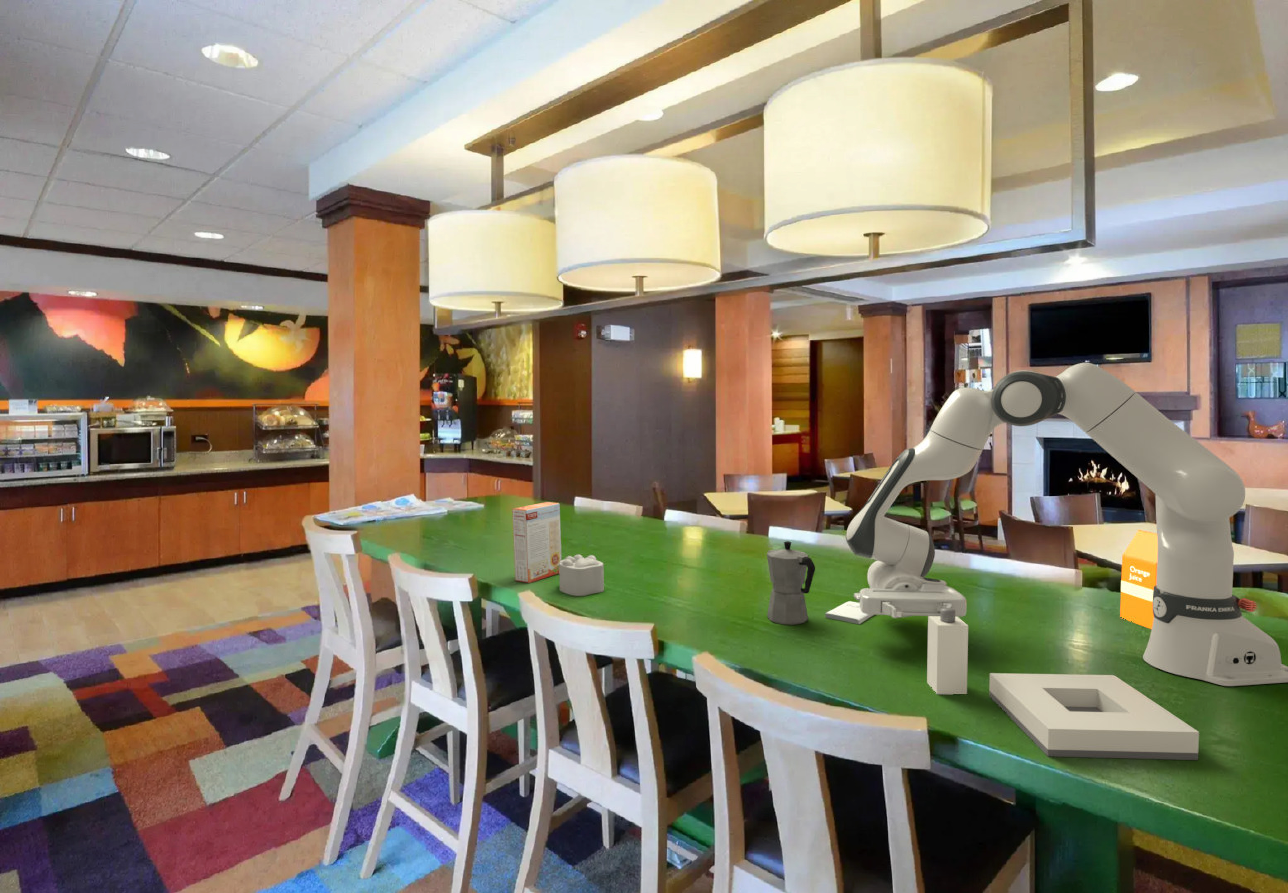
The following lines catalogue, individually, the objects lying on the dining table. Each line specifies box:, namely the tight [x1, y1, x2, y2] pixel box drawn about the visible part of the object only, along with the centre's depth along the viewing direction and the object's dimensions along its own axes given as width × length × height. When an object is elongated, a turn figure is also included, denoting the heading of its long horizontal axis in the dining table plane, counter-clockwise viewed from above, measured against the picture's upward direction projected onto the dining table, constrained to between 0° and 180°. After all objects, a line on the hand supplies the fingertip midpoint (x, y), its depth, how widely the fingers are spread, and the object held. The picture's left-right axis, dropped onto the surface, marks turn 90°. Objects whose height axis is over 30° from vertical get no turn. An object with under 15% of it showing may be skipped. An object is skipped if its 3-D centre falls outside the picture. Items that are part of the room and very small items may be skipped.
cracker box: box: [511, 501, 563, 584], centre depth 202 cm, size 14×6×21 cm, turn 144°
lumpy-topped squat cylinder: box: [558, 554, 605, 597], centre depth 190 cm, size 10×13×9 cm
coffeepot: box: [766, 540, 816, 626], centre depth 160 cm, size 15×9×18 cm, turn 28°
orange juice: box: [1119, 529, 1158, 630], centre depth 155 cm, size 8×9×20 cm
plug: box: [926, 607, 969, 695], centre depth 122 cm, size 5×5×14 cm
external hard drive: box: [824, 600, 874, 625], centre depth 165 cm, size 2×8×12 cm
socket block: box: [988, 672, 1200, 761], centre depth 108 cm, size 20×20×4 cm
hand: (922, 614), depth 134 cm, fingers open, 8 cm apart
